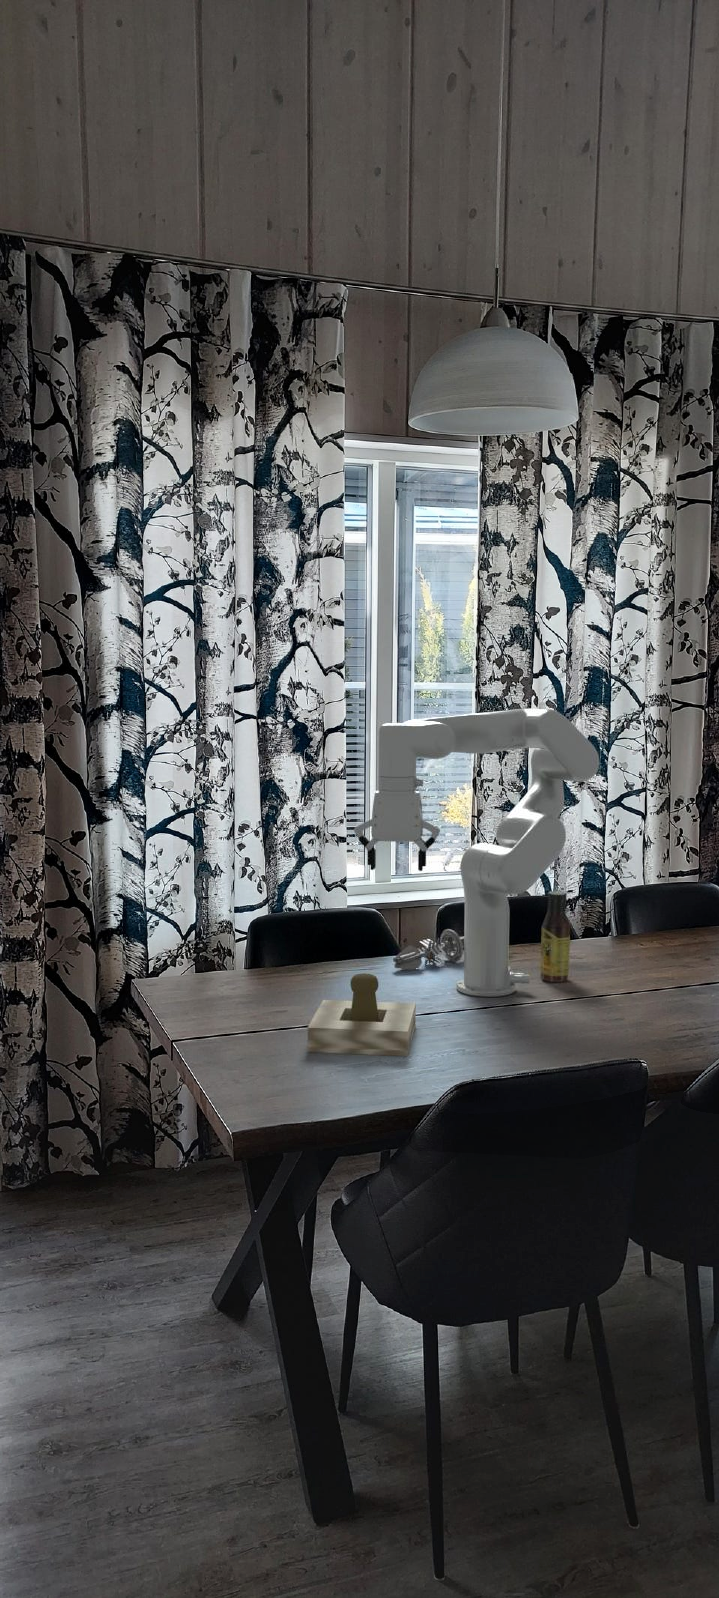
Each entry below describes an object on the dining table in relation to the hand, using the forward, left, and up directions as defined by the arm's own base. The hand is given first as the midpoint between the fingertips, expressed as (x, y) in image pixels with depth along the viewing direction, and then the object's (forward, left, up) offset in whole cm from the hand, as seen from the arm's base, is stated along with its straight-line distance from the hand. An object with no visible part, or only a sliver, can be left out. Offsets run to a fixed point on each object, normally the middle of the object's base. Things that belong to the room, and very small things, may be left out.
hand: (396, 869), depth 235 cm
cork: (+4, +22, -27) cm, 35 cm away
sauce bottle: (-33, -25, -28) cm, 50 cm away
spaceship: (-10, -39, -29) cm, 49 cm away
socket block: (+4, +22, -28) cm, 36 cm away
